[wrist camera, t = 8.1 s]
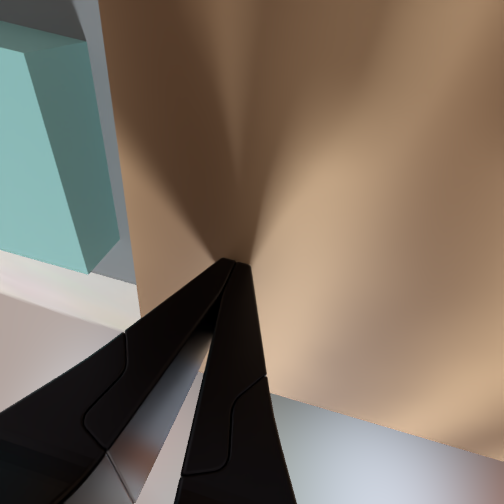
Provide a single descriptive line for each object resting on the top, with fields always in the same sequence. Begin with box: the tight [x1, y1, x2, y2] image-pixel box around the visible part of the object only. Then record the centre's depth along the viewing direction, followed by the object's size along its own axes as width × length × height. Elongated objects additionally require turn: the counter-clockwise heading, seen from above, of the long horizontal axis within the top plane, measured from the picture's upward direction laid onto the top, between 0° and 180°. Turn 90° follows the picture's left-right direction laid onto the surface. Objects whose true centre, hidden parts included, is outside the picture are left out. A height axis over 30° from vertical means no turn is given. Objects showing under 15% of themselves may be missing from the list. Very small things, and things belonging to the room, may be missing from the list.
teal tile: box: [0, 21, 120, 274], centre depth 11 cm, size 6×8×2 cm
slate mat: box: [0, 0, 137, 285], centre depth 12 cm, size 13×15×1 cm
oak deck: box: [98, 0, 504, 462], centre depth 10 cm, size 16×14×4 cm
